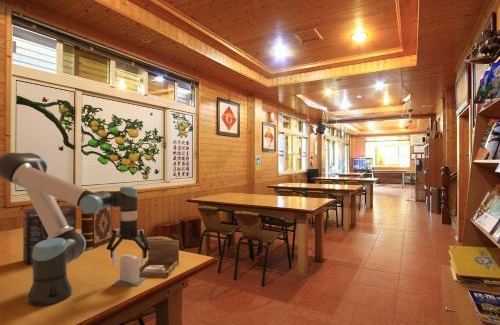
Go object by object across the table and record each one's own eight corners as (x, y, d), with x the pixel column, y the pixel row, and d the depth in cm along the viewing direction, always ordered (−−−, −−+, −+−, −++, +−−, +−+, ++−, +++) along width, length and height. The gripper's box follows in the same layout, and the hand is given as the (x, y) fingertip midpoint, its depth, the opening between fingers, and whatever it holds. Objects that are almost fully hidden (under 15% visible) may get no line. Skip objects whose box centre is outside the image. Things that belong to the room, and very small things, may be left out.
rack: (168, 277, 144) (167, 250, 144) (134, 276, 144) (134, 250, 144) (178, 263, 163) (178, 240, 162) (149, 263, 163) (148, 240, 163)
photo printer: (140, 281, 138) (140, 255, 138) (133, 284, 134) (133, 257, 134) (126, 277, 143) (126, 251, 143) (118, 280, 139) (118, 254, 139)
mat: (137, 286, 134) (137, 285, 134) (112, 285, 134) (112, 284, 134) (145, 278, 143) (145, 277, 143) (121, 277, 143) (121, 277, 143)
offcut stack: (161, 276, 144) (161, 269, 144) (141, 276, 145) (141, 269, 145) (165, 271, 151) (165, 264, 151) (146, 271, 151) (146, 264, 151)
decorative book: (89, 250, 188) (89, 203, 188) (78, 249, 190) (78, 203, 189) (112, 240, 210) (112, 199, 210) (102, 240, 212) (102, 198, 211)
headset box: (70, 250, 188) (70, 198, 187) (77, 255, 179) (76, 200, 179) (22, 260, 170) (22, 202, 170) (26, 265, 161) (26, 205, 161)
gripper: (157, 218, 141) (157, 262, 141) (107, 217, 142) (107, 261, 142) (152, 221, 134) (152, 268, 134) (98, 220, 135) (98, 267, 135)
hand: (128, 264), depth 138 cm, fingers open, 13 cm apart
